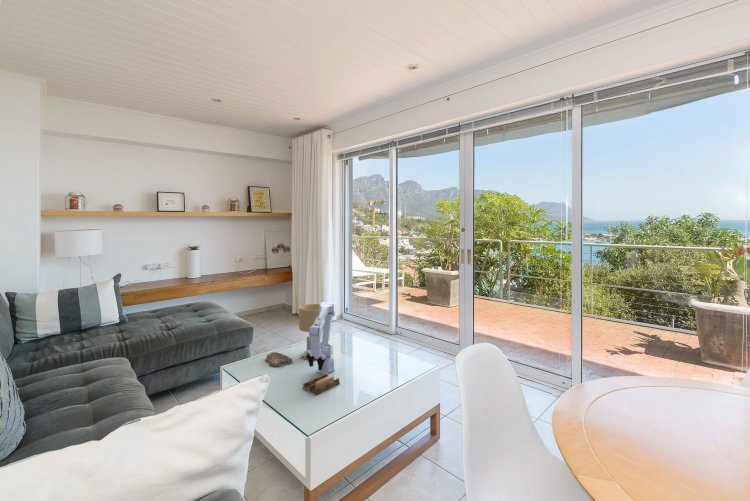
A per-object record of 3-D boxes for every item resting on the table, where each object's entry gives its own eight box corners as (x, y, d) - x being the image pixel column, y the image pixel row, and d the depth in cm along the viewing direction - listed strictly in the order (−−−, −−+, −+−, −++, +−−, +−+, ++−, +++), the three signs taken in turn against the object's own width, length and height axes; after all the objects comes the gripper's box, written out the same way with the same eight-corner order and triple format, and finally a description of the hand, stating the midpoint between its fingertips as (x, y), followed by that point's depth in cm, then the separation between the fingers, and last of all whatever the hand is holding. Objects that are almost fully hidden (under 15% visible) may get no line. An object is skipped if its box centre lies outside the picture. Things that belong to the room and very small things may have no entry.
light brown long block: (330, 381, 207) (330, 375, 207) (333, 382, 206) (333, 376, 206) (315, 388, 198) (315, 381, 198) (318, 390, 197) (318, 383, 196)
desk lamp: (305, 349, 262) (305, 303, 259) (330, 351, 258) (330, 304, 255) (294, 359, 243) (294, 309, 240) (321, 362, 239) (321, 311, 236)
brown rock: (261, 359, 243) (274, 368, 227) (261, 352, 242) (274, 361, 227) (280, 355, 252) (293, 363, 237) (280, 348, 252) (293, 356, 236)
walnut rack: (326, 378, 214) (326, 373, 214) (339, 383, 207) (340, 378, 206) (302, 388, 200) (302, 383, 200) (316, 395, 193) (316, 389, 193)
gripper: (302, 344, 207) (302, 367, 208) (319, 350, 198) (319, 373, 199) (311, 341, 213) (311, 363, 214) (328, 347, 204) (328, 369, 205)
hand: (315, 368), depth 207 cm, fingers open, 7 cm apart
